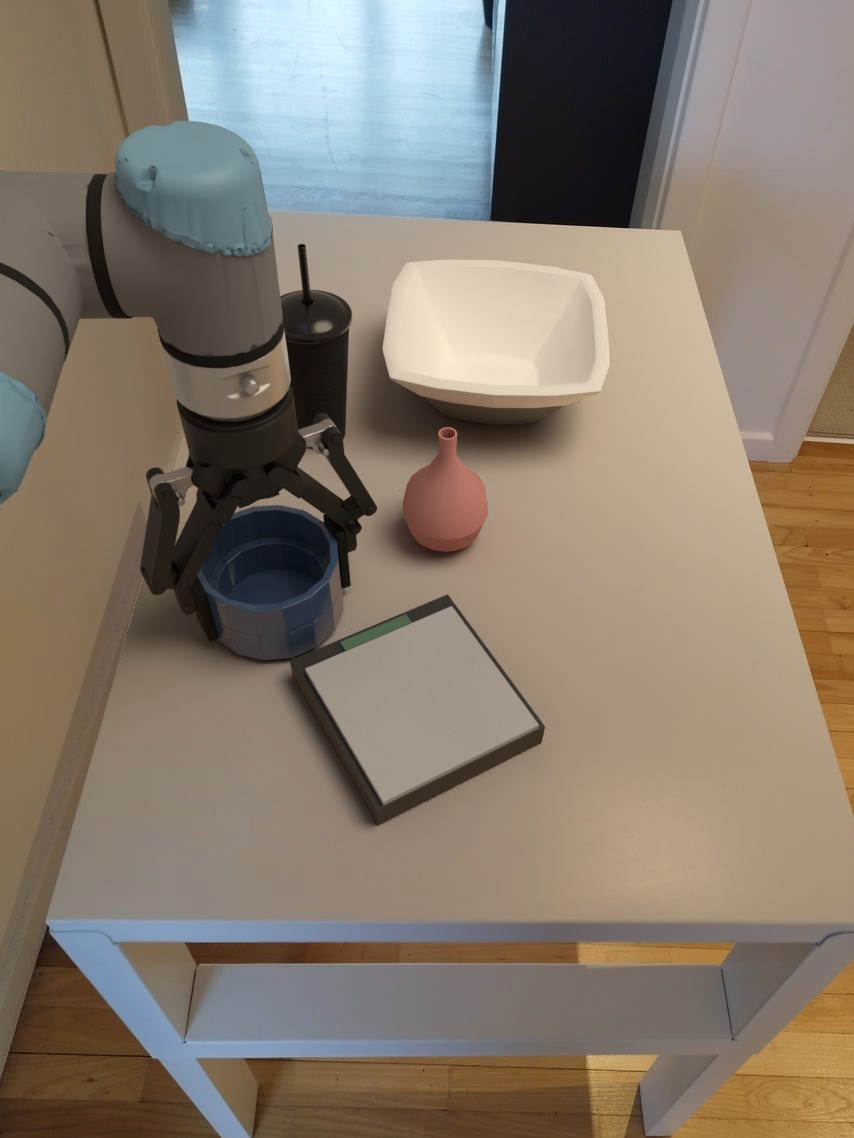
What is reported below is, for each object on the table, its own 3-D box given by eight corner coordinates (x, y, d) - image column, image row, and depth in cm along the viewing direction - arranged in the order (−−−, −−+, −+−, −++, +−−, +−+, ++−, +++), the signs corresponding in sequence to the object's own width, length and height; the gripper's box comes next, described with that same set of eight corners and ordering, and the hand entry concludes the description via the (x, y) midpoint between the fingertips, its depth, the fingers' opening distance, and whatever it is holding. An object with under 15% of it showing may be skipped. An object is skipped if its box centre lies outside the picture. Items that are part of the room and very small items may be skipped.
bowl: (590, 334, 104) (602, 265, 98) (600, 470, 91) (614, 401, 84) (398, 321, 104) (396, 252, 97) (378, 456, 90) (375, 386, 83)
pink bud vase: (470, 575, 81) (477, 475, 72) (390, 553, 82) (387, 451, 73) (495, 517, 86) (505, 415, 76) (419, 497, 87) (419, 394, 77)
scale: (292, 677, 74) (288, 655, 71) (447, 611, 79) (448, 589, 76) (377, 826, 66) (376, 807, 64) (542, 742, 71) (546, 722, 69)
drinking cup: (340, 467, 89) (324, 279, 73) (269, 447, 90) (238, 258, 74) (371, 420, 93) (362, 233, 77) (303, 402, 94) (280, 214, 78)
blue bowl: (190, 590, 78) (173, 534, 73) (310, 545, 82) (302, 488, 77) (240, 684, 73) (225, 631, 67) (365, 631, 77) (361, 577, 71)
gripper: (67, 482, 53) (153, 690, 71) (420, 370, 62) (420, 581, 79) (32, 409, 57) (122, 624, 74) (370, 312, 65) (380, 526, 83)
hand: (275, 602), depth 77 cm, fingers closed on blue bowl, 11 cm apart
